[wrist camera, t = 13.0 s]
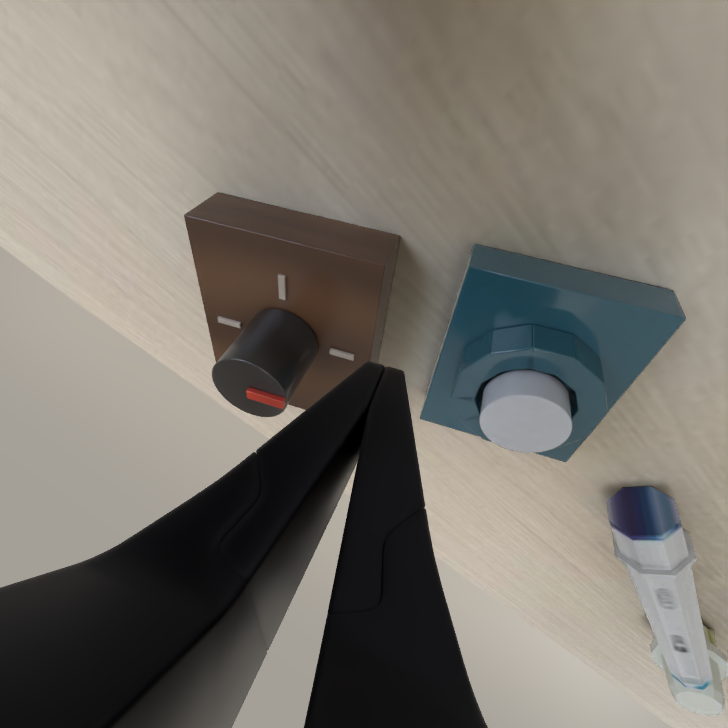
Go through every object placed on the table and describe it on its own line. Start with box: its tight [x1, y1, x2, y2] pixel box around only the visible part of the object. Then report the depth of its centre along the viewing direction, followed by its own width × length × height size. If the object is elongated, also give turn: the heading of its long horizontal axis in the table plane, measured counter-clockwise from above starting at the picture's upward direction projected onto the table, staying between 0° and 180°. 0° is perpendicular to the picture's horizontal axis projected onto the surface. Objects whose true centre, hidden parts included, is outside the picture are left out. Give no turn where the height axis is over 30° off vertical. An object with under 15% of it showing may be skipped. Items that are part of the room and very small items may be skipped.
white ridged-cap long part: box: [607, 486, 728, 716], centre depth 31 cm, size 5×7×25 cm
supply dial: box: [212, 308, 318, 417], centre depth 21 cm, size 4×4×4 cm
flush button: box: [479, 370, 572, 453], centre depth 19 cm, size 4×4×2 cm
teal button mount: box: [420, 244, 686, 462], centre depth 21 cm, size 11×9×4 cm
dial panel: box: [184, 192, 400, 410], centre depth 24 cm, size 12×10×3 cm
